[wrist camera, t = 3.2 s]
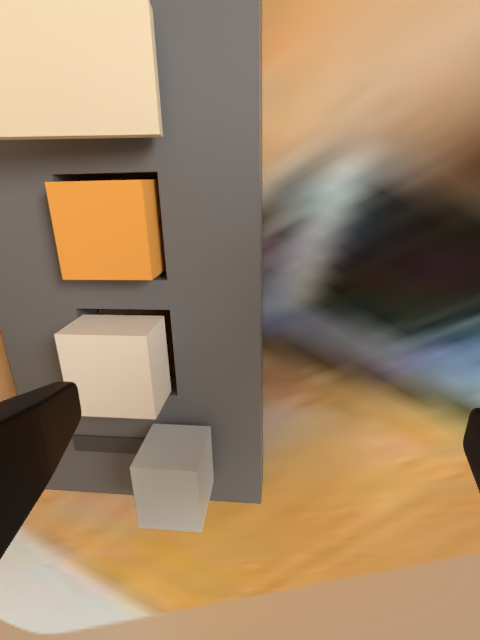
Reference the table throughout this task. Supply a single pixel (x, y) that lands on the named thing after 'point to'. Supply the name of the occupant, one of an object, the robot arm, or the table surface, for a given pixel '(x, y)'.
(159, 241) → the orange button
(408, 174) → the table surface
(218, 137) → the control panel
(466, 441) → the robot arm
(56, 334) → the off-white button
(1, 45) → the cream rectangular plate
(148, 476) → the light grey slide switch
